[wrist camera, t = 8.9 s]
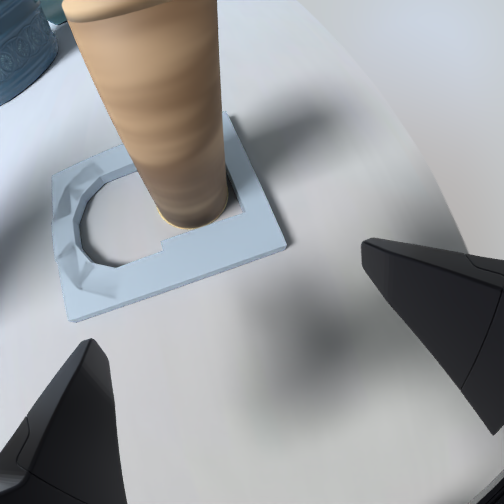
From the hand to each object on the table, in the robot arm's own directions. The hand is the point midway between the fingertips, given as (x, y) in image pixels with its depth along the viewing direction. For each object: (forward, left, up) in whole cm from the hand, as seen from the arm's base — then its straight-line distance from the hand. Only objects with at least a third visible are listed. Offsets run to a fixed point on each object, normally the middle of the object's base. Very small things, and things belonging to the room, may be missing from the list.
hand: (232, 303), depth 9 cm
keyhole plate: (+5, +8, -8) cm, 12 cm away
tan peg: (+6, +6, -8) cm, 12 cm away
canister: (+14, +38, -9) cm, 42 cm away
